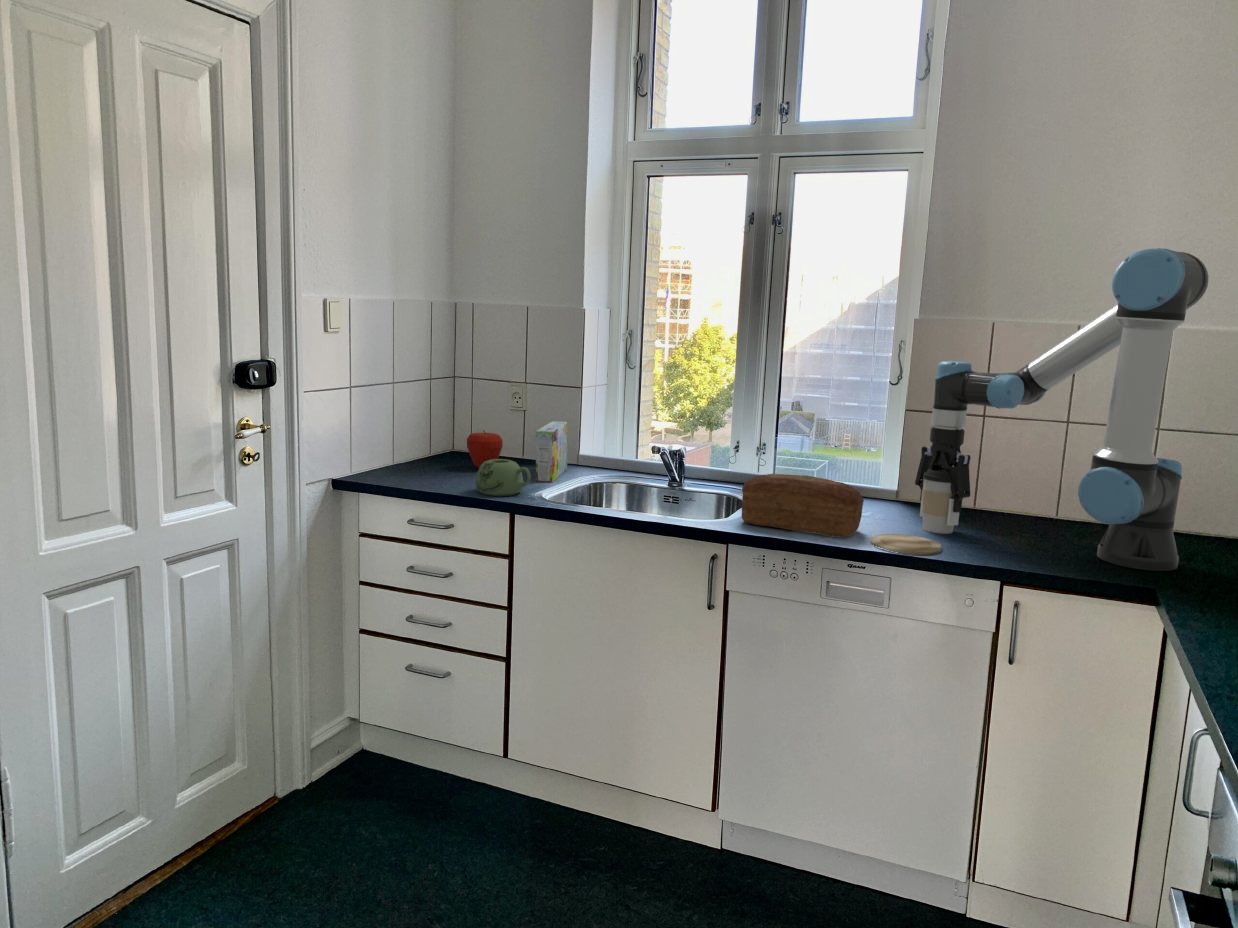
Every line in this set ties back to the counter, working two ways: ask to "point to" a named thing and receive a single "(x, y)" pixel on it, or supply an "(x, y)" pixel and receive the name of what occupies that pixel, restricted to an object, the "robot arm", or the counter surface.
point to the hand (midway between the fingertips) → (938, 520)
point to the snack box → (551, 451)
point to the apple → (484, 447)
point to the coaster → (906, 544)
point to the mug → (501, 477)
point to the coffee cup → (936, 501)
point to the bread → (802, 504)
